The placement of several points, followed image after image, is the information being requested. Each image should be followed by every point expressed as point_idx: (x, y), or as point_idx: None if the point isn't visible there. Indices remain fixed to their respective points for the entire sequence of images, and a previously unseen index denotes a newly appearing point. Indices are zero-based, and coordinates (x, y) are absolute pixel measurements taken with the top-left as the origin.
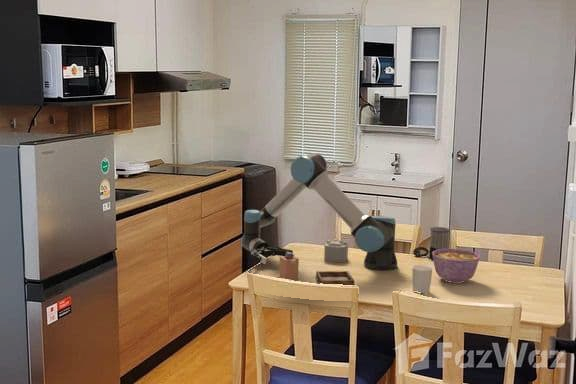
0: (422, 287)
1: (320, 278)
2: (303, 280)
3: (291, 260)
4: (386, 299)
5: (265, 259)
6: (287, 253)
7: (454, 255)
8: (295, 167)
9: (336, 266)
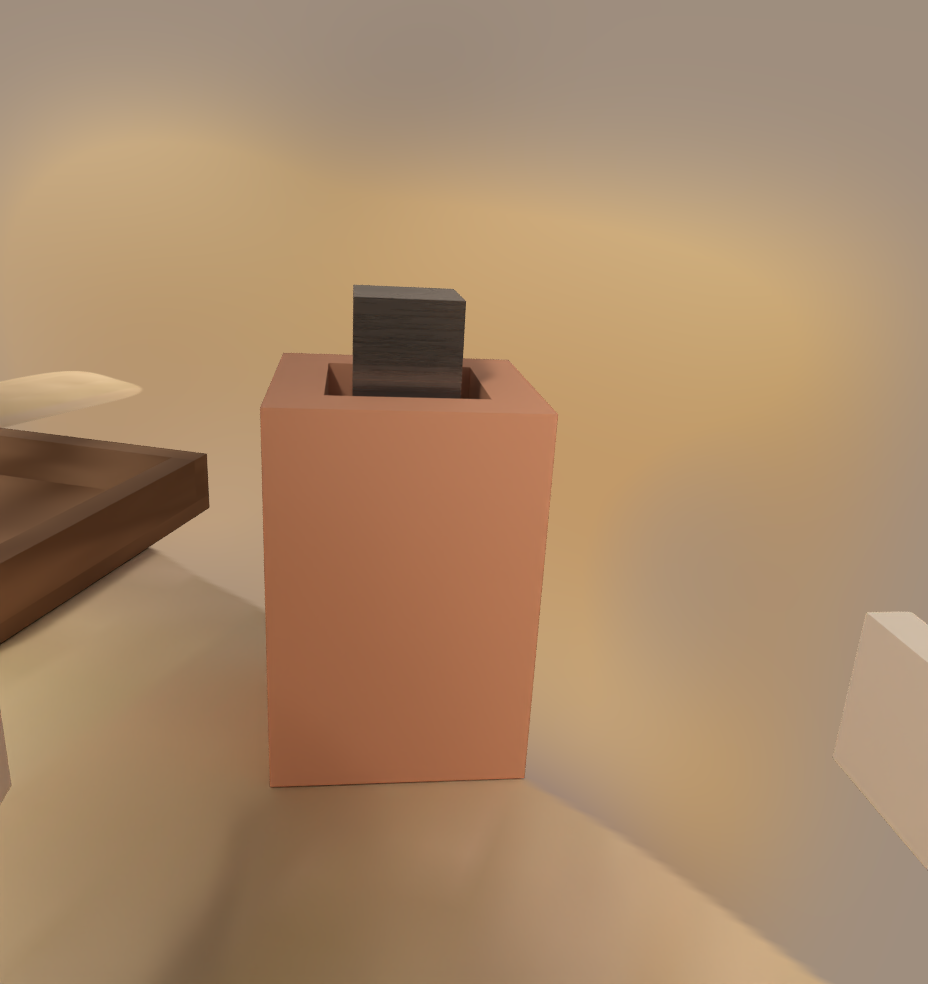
0: None
1: (155, 475)
2: (246, 622)
3: None
4: (18, 379)
5: (877, 648)
6: (448, 292)
7: None
8: None
9: None
